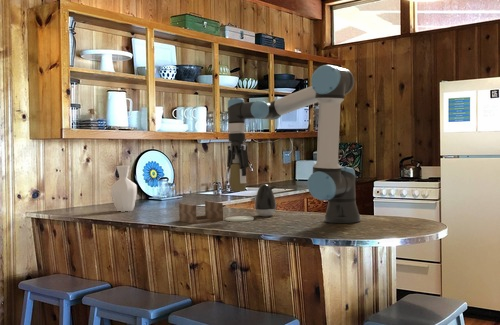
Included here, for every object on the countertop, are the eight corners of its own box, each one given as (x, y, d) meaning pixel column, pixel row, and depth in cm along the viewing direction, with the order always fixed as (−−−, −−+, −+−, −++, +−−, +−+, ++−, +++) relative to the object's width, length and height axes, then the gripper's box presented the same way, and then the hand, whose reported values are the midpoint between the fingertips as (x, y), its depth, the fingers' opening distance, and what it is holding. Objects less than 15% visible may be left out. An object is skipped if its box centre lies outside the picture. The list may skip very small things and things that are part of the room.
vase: (143, 210, 308) (141, 165, 308) (124, 213, 296) (122, 166, 296) (124, 209, 316) (123, 165, 315) (105, 212, 304) (104, 166, 303)
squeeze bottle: (234, 192, 247) (233, 151, 247) (226, 191, 254) (225, 151, 254) (250, 190, 251) (249, 151, 250) (242, 189, 258) (241, 151, 258)
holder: (223, 220, 252) (222, 202, 252) (193, 223, 245) (193, 205, 245) (208, 217, 265) (207, 200, 265) (179, 220, 258) (179, 203, 257)
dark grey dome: (275, 217, 259) (274, 184, 259) (253, 217, 261) (252, 184, 261) (278, 214, 269) (277, 183, 269) (257, 214, 271) (256, 183, 271)
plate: (259, 219, 251) (259, 218, 251) (234, 222, 244) (234, 220, 244) (244, 217, 262) (244, 215, 262) (220, 219, 255) (220, 218, 255)
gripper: (256, 131, 245) (257, 183, 246) (232, 133, 263) (233, 181, 263) (241, 132, 241) (242, 184, 242) (218, 133, 259) (220, 182, 259)
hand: (238, 182), depth 253 cm, fingers closed on squeeze bottle, 8 cm apart
